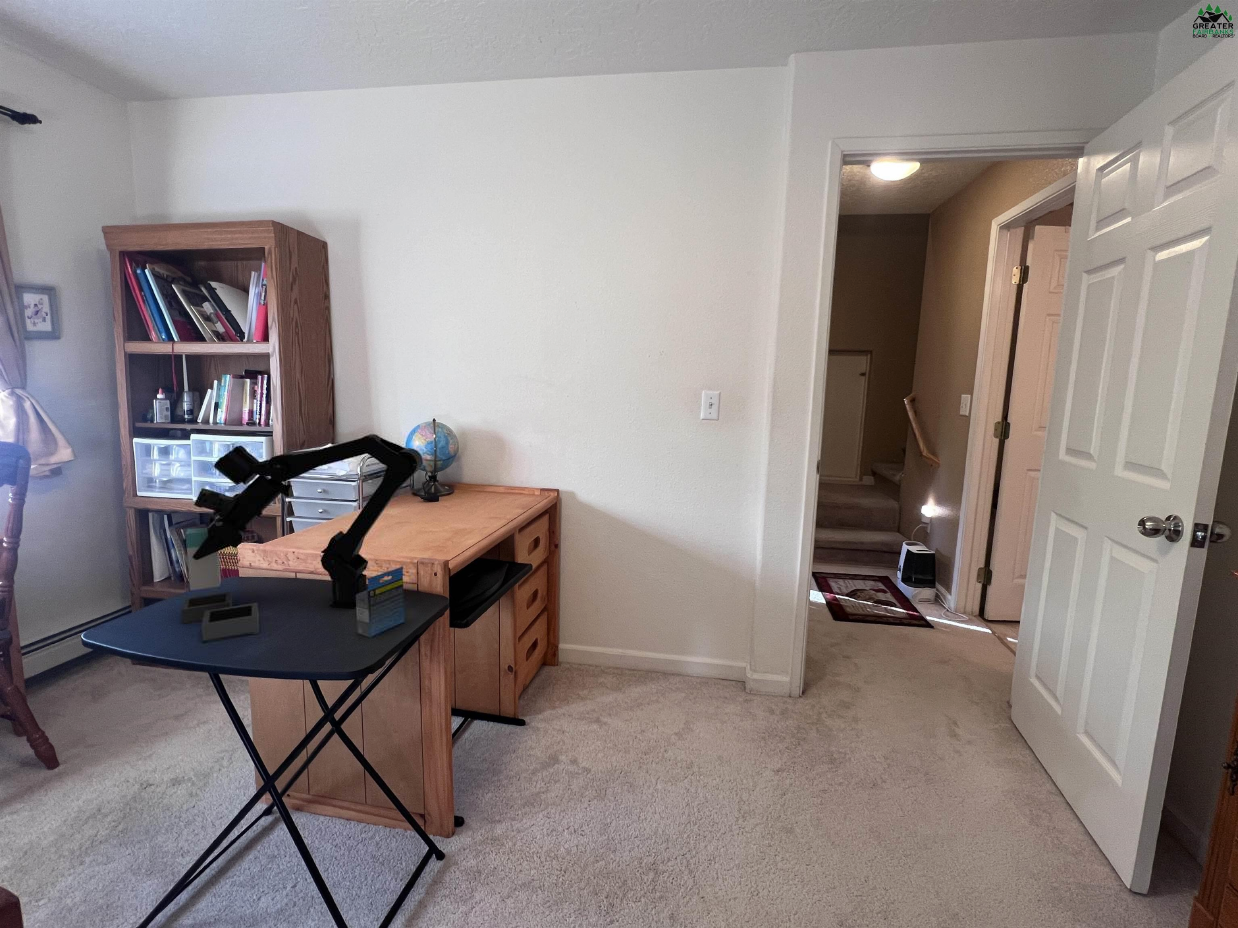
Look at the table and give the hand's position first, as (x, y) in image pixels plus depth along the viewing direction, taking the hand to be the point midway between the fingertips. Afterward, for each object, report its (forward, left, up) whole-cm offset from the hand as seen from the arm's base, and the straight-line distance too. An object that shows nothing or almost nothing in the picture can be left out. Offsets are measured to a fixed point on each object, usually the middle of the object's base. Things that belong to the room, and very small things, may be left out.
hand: (195, 555), depth 120 cm
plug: (-1, -1, -7) cm, 7 cm away
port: (-12, +5, -13) cm, 18 cm away
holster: (-1, -1, -13) cm, 13 cm away
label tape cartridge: (-40, -2, -13) cm, 42 cm away
